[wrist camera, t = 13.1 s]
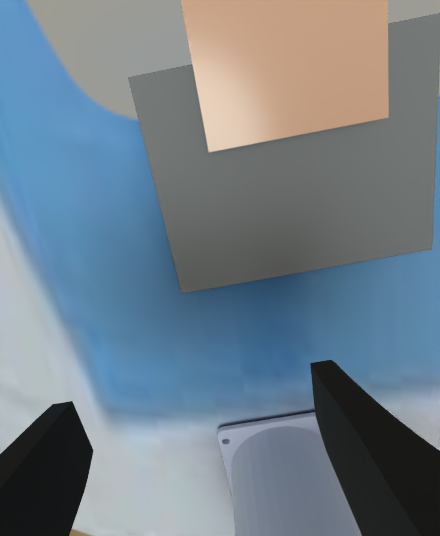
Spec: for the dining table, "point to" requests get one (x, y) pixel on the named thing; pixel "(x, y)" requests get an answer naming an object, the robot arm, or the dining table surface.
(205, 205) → the mat
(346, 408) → the robot arm
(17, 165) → the dining table surface
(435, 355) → the dining table surface
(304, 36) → the tile
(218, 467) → the dining table surface
